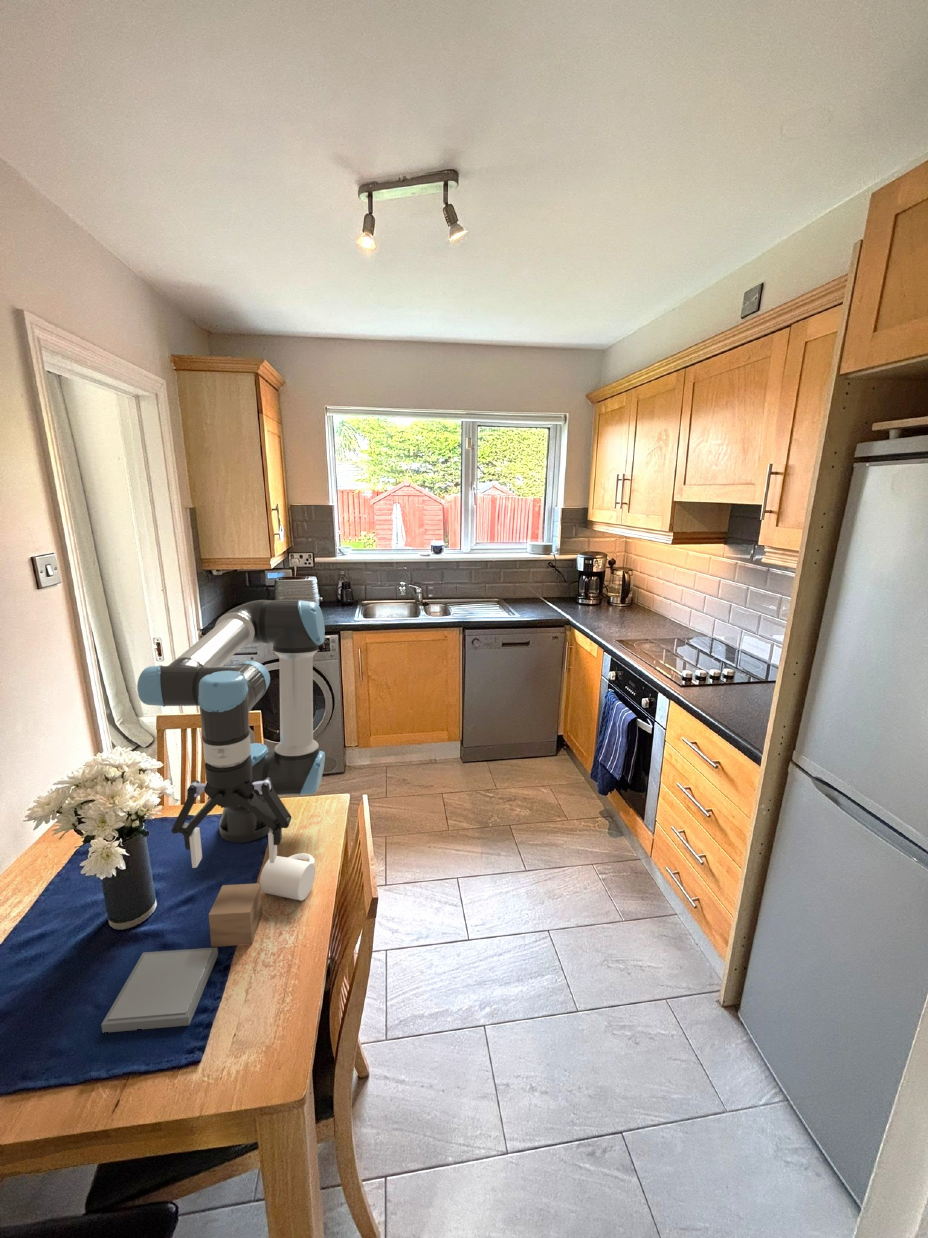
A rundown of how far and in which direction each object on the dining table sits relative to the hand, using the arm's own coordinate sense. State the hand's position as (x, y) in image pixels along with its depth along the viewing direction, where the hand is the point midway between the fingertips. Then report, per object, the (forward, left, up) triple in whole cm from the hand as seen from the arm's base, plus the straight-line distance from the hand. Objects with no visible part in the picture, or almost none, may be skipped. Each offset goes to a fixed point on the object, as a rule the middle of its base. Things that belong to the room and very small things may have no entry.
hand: (235, 860), depth 92 cm
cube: (-9, -4, -24) cm, 26 cm away
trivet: (+4, -13, -24) cm, 28 cm away
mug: (-21, +5, -24) cm, 32 cm away
